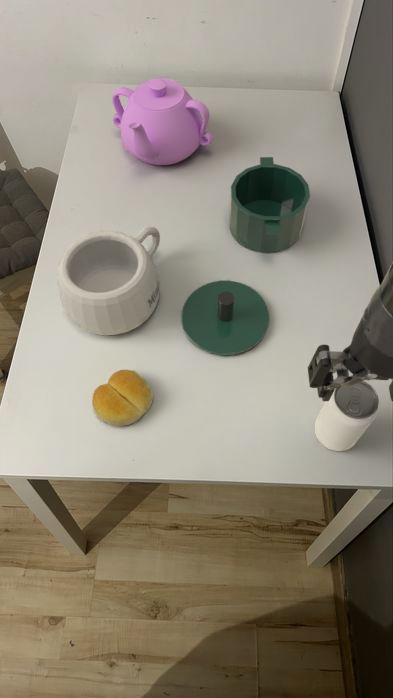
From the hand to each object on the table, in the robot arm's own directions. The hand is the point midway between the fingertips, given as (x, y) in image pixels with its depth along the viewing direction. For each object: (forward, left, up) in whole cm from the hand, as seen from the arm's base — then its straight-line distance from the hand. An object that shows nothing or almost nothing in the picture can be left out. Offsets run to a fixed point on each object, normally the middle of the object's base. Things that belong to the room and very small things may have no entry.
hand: (358, 394), depth 62 cm
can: (0, 0, -14) cm, 14 cm away
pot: (+8, -41, -13) cm, 44 cm away
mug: (+34, -26, -14) cm, 45 cm away
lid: (+16, -20, -13) cm, 29 cm away
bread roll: (+32, -5, -14) cm, 35 cm away
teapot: (+29, -62, -14) cm, 70 cm away
